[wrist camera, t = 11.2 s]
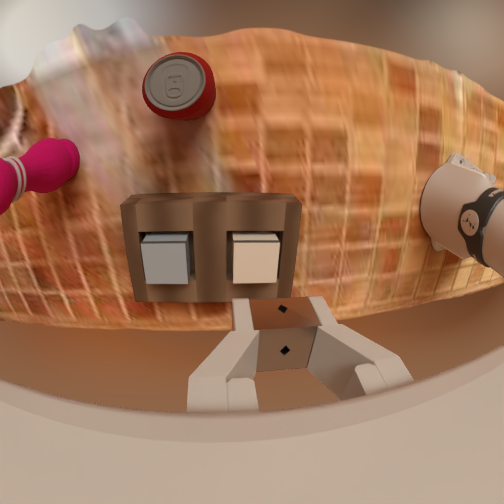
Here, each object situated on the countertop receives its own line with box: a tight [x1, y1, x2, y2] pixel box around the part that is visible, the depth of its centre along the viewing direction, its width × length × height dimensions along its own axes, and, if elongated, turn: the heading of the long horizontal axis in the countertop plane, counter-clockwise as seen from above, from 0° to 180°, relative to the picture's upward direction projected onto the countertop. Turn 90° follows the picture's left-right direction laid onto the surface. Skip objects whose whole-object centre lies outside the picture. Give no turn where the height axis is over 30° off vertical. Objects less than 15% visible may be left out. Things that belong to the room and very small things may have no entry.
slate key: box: [141, 231, 191, 284], centre depth 34 cm, size 6×6×5 cm
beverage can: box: [142, 52, 216, 121], centre depth 25 cm, size 7×7×12 cm
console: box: [120, 193, 302, 302], centre depth 37 cm, size 22×14×5 cm, turn 88°
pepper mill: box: [0, 138, 80, 215], centre depth 22 cm, size 7×7×20 cm
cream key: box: [231, 231, 280, 283], centre depth 36 cm, size 6×6×5 cm
